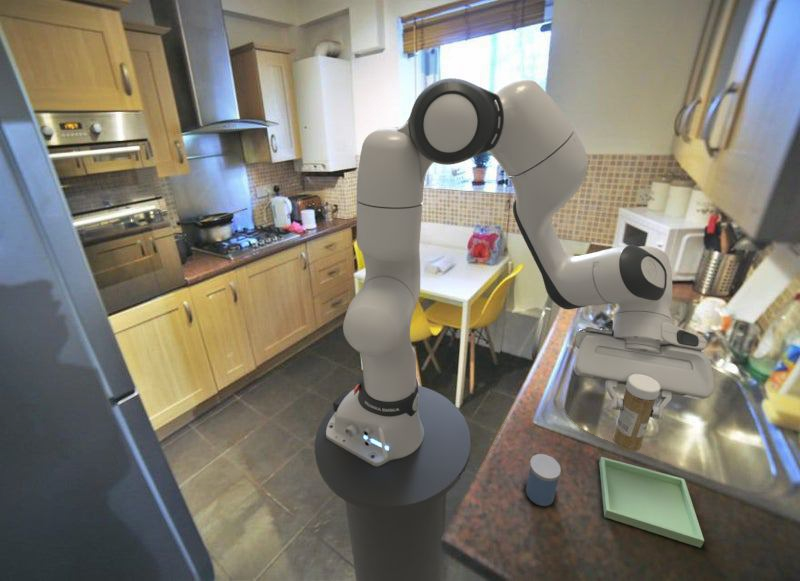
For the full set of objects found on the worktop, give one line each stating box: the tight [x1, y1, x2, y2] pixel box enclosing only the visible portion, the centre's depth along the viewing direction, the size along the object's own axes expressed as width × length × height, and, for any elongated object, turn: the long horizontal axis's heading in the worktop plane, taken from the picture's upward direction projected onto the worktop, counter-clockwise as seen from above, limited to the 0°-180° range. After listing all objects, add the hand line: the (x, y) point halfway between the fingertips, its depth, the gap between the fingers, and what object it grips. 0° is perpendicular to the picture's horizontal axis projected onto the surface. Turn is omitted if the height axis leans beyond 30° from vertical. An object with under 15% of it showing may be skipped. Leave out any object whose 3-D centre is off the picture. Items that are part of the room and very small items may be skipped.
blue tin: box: [525, 453, 562, 507], centre depth 68 cm, size 5×5×8 cm
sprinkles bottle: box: [611, 374, 660, 452], centre depth 62 cm, size 5×5×14 cm
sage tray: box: [598, 456, 705, 549], centre depth 67 cm, size 14×12×2 cm
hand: (636, 413), depth 61 cm, fingers closed on sprinkles bottle, 4 cm apart
